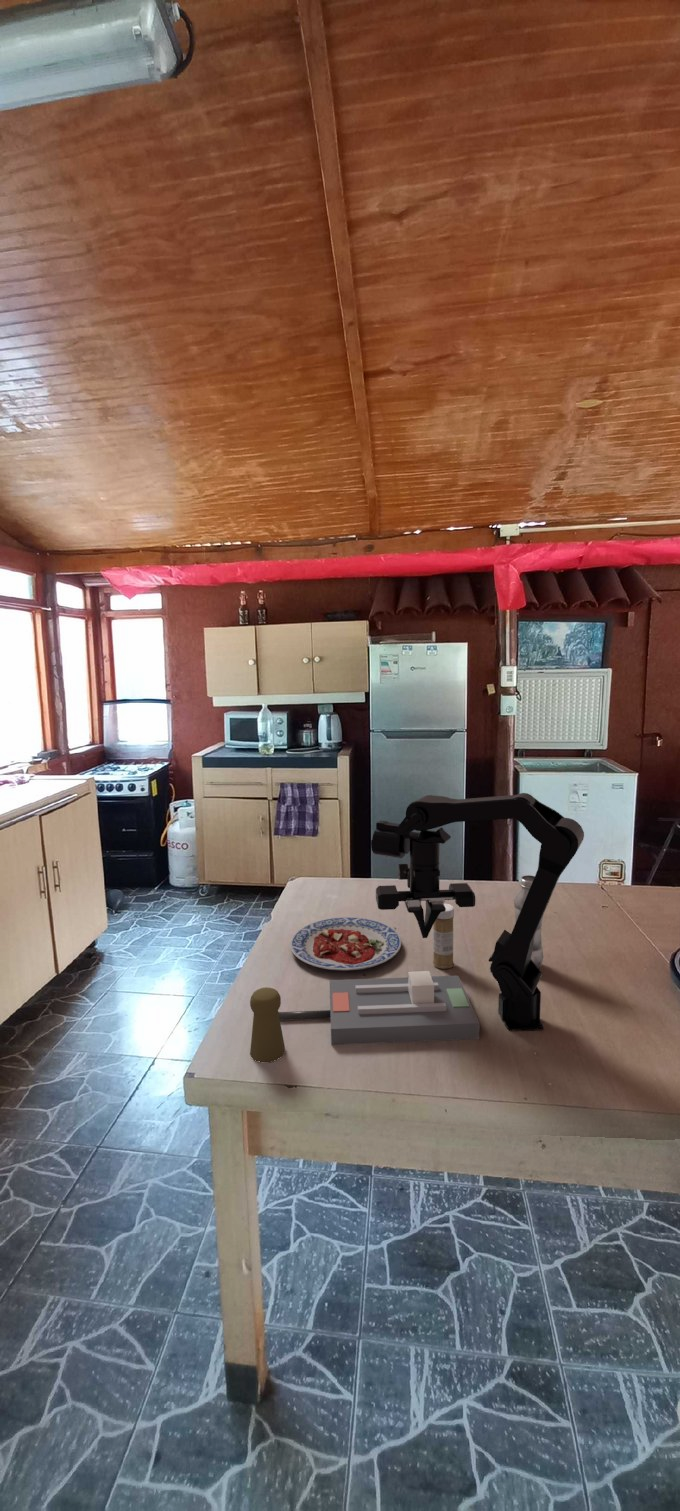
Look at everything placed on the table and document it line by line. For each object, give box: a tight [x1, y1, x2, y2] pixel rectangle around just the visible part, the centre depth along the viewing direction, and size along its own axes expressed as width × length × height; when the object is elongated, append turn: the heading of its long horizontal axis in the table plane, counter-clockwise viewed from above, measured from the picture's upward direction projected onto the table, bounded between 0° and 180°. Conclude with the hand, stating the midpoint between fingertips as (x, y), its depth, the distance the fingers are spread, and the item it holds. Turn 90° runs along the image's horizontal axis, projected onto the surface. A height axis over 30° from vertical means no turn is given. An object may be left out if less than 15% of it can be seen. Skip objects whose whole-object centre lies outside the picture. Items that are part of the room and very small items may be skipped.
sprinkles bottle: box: [432, 902, 455, 970], centre depth 128 cm, size 5×5×13 cm
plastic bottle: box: [513, 874, 544, 969], centre depth 126 cm, size 6×7×20 cm
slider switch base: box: [278, 975, 480, 1046], centre depth 110 cm, size 36×16×4 cm, turn 92°
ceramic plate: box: [289, 916, 402, 971], centre depth 137 cm, size 26×26×3 cm
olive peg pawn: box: [249, 986, 286, 1063], centre depth 100 cm, size 6×6×11 cm
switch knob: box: [407, 970, 434, 1004], centre depth 110 cm, size 4×5×4 cm
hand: (424, 937), depth 116 cm, fingers closed
